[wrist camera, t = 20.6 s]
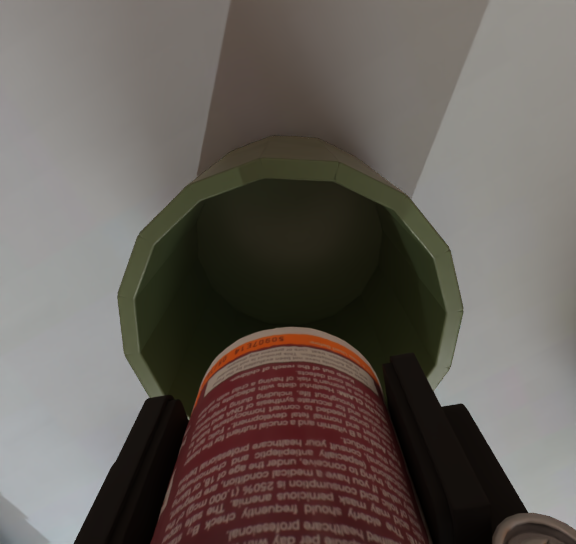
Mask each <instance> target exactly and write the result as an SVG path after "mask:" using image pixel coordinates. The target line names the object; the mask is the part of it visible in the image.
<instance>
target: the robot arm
mask: <svg viewBox="0 0 576 544" xmlns="http://www.w3.org/2000/svg"><path fill="white" fill-rule="evenodd" d="M382 369H383V376H384V382H385V389H386V396H387V403H388V409H389V411H390V414H391V419H392V422H393V425H394V428H395V431H396V433H397V437H398V440H399V443H400V446H401V449H402V452H403V455H404V458H405V460H406V463H407V467H408V470H409V473H410V475H411V478H412V481H413V483H414V487H415V490H416V493H417V496H418V498H419V501H420V504H421V507H422V510H423V513H424V516H425V519H426V522H427V525H428V528H429V531H430V535H431V538H432V541H433V544H576V530H574V529H573V528H572V527H570V526H569V525H567V524H566V523H564V522H561V521H559V520H557V519H555V518H552V517H550V516H546V515H541V514H537V513H528V511H527V510H526V508H525V506H524V505H523V503H522V501H521V500H520V498H519V496H518V494H517V493H516V491H515V489H514V488H513V486H512V484H511V483H510V481H509V479H508V478H507V476H506V474H505V472H504V471H503V469H502V467H501V466H500V464H499V462H498V461H497V459H496V457H495V455H494V454H493V452H492V450H491V449H490V447H489V445H488V444H487V442H486V440H485V438H484V437H483V435H482V433H481V432H480V430H479V428H478V427H477V425H476V423H475V422H474V420H473V418H472V416H471V415H470V413H469V411H468V410H467V408H466V407H465V406H464V405H463V404H456V405H450V406H444V407H441V405H440V403H439V402H438V400H437V398H436V396H435V394H434V392H433V390H432V388H431V386H430V384H429V382H428V380H427V378H426V376H425V374H424V372H423V370H422V368H421V366H420V364H419V362H418V360H417V358H416V356H415V354H414V353H413V352H412V353H406V354H400V355H394V356H390V363H385V364H382ZM188 422H189V420H188V417H187V414H186V412H185V409H184V406H183V404H182V402H181V400H180V399H176V400H175V399H174V397H173V396H172V395H164V396H158V397H152V398H148V399H147V400H146V401H145V403H144V405H143V407H142V409H141V411H140V413H139V415H138V417H137V419H136V421H135V423H134V425H133V427H132V429H131V431H130V433H129V435H128V437H127V439H126V441H125V444H124V446H123V448H122V450H121V452H120V454H119V456H118V458H117V460H116V462H115V463H114V464H113V466H112V467H111V469H110V471H109V473H108V475H107V477H106V479H105V481H104V483H103V485H102V487H101V489H100V491H99V493H98V495H97V497H96V499H95V501H94V503H93V505H92V507H91V509H90V511H89V513H88V515H87V517H86V520H85V522H84V524H83V526H82V528H81V530H80V532H79V534H78V536H77V538H76V540H75V542H74V544H150V542H151V540H152V538H153V535H154V531H155V528H156V525H157V522H158V519H159V515H160V511H161V507H162V504H163V502H164V499H165V496H166V492H167V488H168V485H169V481H170V478H171V475H172V473H173V470H174V467H175V464H176V461H177V458H178V454H179V451H180V448H181V445H182V441H183V437H184V434H185V431H186V428H187V425H188Z"/></svg>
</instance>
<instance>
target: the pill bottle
mask: <svg viewBox="0 0 576 544" xmlns="http://www.w3.org/2000/svg"><path fill="white" fill-rule="evenodd" d="M150 544H433V541H432V538H431V535H430V531H429V528H428V525H427V522H426V519H425V516H424V513H423V510H422V507H421V504H420V501H419V498H418V496H417V493H416V490H415V487H414V483H413V481H412V478H411V475H410V473H409V470H408V467H407V463H406V460H405V458H404V455H403V452H402V449H401V446H400V443H399V440H398V437H397V433H396V431H395V428H394V425H393V422H392V419H391V414H390V411H389V409H388V406H387V404H386V400H385V397H384V394H383V391H382V387H381V384H380V382H379V380H378V377H377V375H376V373H375V371H374V370H373V368H372V367H371V365H370V363H369V362H368V361H367V360H366V359H365V357H364V356H363V355H362V354H361V353H360V352H359V351H358V350H356V349H355V348H354V347H352V346H351V345H350V344H348V343H347V342H345V341H344V340H342V339H340V338H338V337H336V336H333V335H331V334H328V333H326V332H322V331H319V330H316V329H311V328H303V327H283V328H275V329H269V330H263V331H259V332H256V333H253V334H251V335H248V336H245V337H243V338H241V339H239V340H237V341H236V342H234V343H233V344H231V345H230V346H229V347H227V348H226V349H225V350H224V351H223V352H221V353H220V354H219V355H218V356H217V357H216V359H215V360H214V361H213V362H212V364H211V365H210V367H209V369H208V370H207V372H206V374H205V376H204V378H203V380H202V383H201V385H200V388H199V392H198V395H197V398H196V401H195V404H194V407H193V410H192V413H191V417H190V420H189V422H188V425H187V428H186V431H185V434H184V437H183V441H182V445H181V448H180V451H179V454H178V458H177V461H176V464H175V467H174V470H173V473H172V475H171V478H170V481H169V485H168V488H167V492H166V496H165V499H164V502H163V504H162V507H161V511H160V515H159V519H158V522H157V525H156V528H155V531H154V535H153V538H152V540H151V542H150Z"/></svg>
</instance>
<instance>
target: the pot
mask: <svg viewBox="0 0 576 544" xmlns="http://www.w3.org/2000/svg"><path fill="white" fill-rule="evenodd" d="M117 298H118V307H119V315H120V324H121V332H122V341H123V349H124V354H125V357H126V359H127V360H128V362H129V364H130V365H131V367H132V369H133V370H134V372H135V374H136V375H137V377H138V379H139V381H140V382H141V384H142V386H143V387H144V389H145V391H146V392H147V394H148V396H149V397H150V398H152V397H158V396H164V395H172V396H173V397H174V399H175V400H176V399H180V400H181V402H182V404H183V406H184V409H185V412H186V414H187V417H188V420H190V417H191V413H192V410H193V407H194V404H195V401H196V398H197V395H198V392H199V388H200V385H201V383H202V380H203V378H204V376H205V374H206V372H207V370H208V369H209V367H210V365H211V364H212V362H213V361H214V360H215V359H216V357H217V356H218V355H219V354H220V353H221V352H223V351H224V350H225V349H226V348H227V347H229V346H230V345H231V344H233V343H234V342H236V341H237V340H239V339H241V338H243V337H245V336H248V335H251V334H253V333H256V332H259V331H263V330H269V329H275V328H283V327H303V328H311V329H316V330H319V331H322V332H326V333H328V334H331V335H333V336H336V337H338V338H340V339H342V340H344V341H345V342H347V343H348V344H350V345H351V346H352V347H354V348H355V349H356V350H358V351H359V352H360V353H361V354H362V355H363V356H364V357H365V359H366V360H367V361H368V362H369V363H370V365H371V367H372V368H373V370H374V371H375V373H376V375H377V377H378V380H379V382H380V384H381V387H382V391H383V394H384V397H385V400H386V404H387V406H388V403H387V396H386V389H385V382H384V376H383V369H382V364H385V363H390V356H394V355H400V354H406V353H412V352H413V353H414V354H415V356H416V358H417V360H418V362H419V364H420V366H421V368H422V370H423V372H424V374H425V376H426V378H427V380H428V382H429V384H430V386H431V388H432V390H433V391H434V390H435V388H436V387H437V386H438V384H439V383H440V382H441V380H442V379H443V377H444V376H445V375H446V373H447V372H448V371H449V369H450V367H451V363H452V359H453V355H454V350H455V346H456V342H457V337H458V333H459V329H460V324H461V320H462V316H463V304H462V299H461V295H460V290H459V286H458V282H457V277H456V273H455V268H454V264H453V259H452V255H451V250H450V249H449V246H448V245H447V244H446V243H445V241H444V240H443V239H442V238H441V236H440V235H439V234H438V233H437V231H436V230H435V229H434V228H433V226H432V225H431V224H430V223H429V221H428V220H427V219H426V218H425V216H424V215H423V214H422V213H421V211H420V210H419V209H418V208H417V206H416V205H415V204H414V203H413V201H412V200H411V199H410V198H409V197H408V196H407V195H406V194H405V193H404V192H402V191H401V190H399V189H398V188H397V187H395V186H394V185H393V184H391V183H390V182H389V181H387V180H386V179H385V178H383V177H382V176H381V175H379V174H378V173H376V172H375V171H374V170H372V169H371V168H370V167H368V166H367V165H366V164H364V163H363V162H362V161H360V160H359V159H358V158H356V157H355V156H353V155H351V154H349V153H347V152H345V151H343V150H341V149H339V148H337V147H335V146H333V145H331V144H329V143H327V142H325V141H323V140H321V139H319V138H312V137H299V136H270V137H267V138H265V139H262V140H259V141H256V142H253V143H251V144H248V145H246V146H244V147H241V148H238V149H236V150H233V151H231V152H230V153H228V154H227V155H226V156H224V157H223V158H222V159H221V160H219V161H218V162H217V163H215V164H214V165H213V166H212V167H210V168H209V169H208V170H206V171H205V172H204V173H202V174H201V175H200V176H199V177H197V178H196V179H195V180H193V181H192V182H191V183H190V184H188V185H187V186H186V187H185V188H184V189H183V190H182V191H181V192H180V193H179V194H178V195H177V196H176V197H175V198H174V199H173V200H172V201H171V202H170V203H169V204H168V205H167V206H166V207H165V208H164V209H163V210H162V211H161V212H160V213H159V214H158V215H157V216H156V217H155V218H154V219H153V220H152V221H151V222H150V223H149V224H148V225H147V226H146V227H145V228H144V229H143V230H142V231H141V232H140V233H139V235H138V236H137V239H136V242H135V245H134V248H133V250H132V253H131V256H130V259H129V262H128V265H127V268H126V271H125V273H124V276H123V279H122V282H121V285H120V288H119V291H118V296H117Z"/></svg>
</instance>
